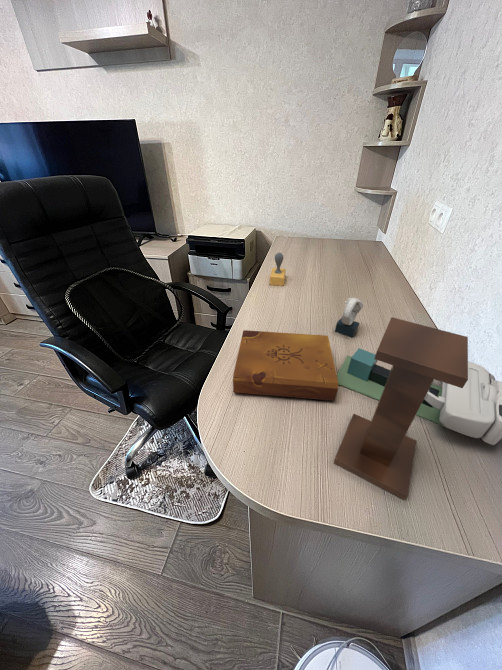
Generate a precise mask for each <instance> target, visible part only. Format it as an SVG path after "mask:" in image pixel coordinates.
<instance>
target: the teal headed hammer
mask: <svg viewBox="0 0 502 670" xmlns="http://www.w3.org/2000/svg"><path fill="white" fill-rule="evenodd" d="M375 355H376V353H374V352H370V351H367V350H365V349H363V348H360V347H359V348H357V349H356V351H355V352H354V353H353V355H352V356H351V360H350V364H349V368H348V371H347V373H348V374H351V375H353V376H355V377H357V378H360V379H362V380H364V381H366V382H367V380H371V381H373V382H375V383H377V384H380V385H382V386H384V387H385V384H386V381H387V379H388V376H389V374H390V371H391V369H389V370H388V368H386V367H383V366H381V365H379V364H377V363H378V360H375V359H374V358H375ZM429 392H430V393H432V394H433V395H435V396H436V397H437V396H438V394H439V390H437V389H435V388H432V387H430V388H429ZM422 404H424V405H427V406H429V407H431V408H432V405H431V404H429V403H428V402H427V401H426V400H423V402H422Z"/></svg>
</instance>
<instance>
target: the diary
mask: <svg viewBox="0 0 502 670" xmlns="http://www.w3.org/2000/svg"><path fill="white" fill-rule="evenodd" d="M334 361H335V360H334V357H333V351H332V347H331V342H330V337H329V335H326V334H325V335H324V334H309V333H308V334H307V333H295V332H294V333H292V332H279V331H278V332H277V331H263V330H247V329H243V330H242V334H241V339H240V344H239V347H238V352H237V357H236V360H235V366H234V370H233V375H232V376H233V377H232V392H233V393H237V394H250V395H262V396H274V397H275V396H276V397H284V398H285V397H287V398H297V399H298V398H299V399H310V400H311V399H312V400H321V401H332V402H333V401H336V399H337V395H338V391H339V385H338V379H337V374H338V373H337V370H336V366H335V362H334Z"/></svg>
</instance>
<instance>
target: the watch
mask: <svg viewBox="0 0 502 670" xmlns="http://www.w3.org/2000/svg"><path fill="white" fill-rule="evenodd" d="M344 303H345V306H344V309H343V312H342V315H341V318H340V319H339V320H338V321H337V322H336V324H335V329H334V332H335V333H337V334H340V335H344V336H346V337H349V338H351V339H353V338H354V336H355V335H356V334H357V332H358V330H359V327H360V322H358V321H355V320H356V318H357V315H358V314H359V313H360V312H361V310H363V308H364V302H363V301H362V300H360V299H359V298H357V297H349V298H347V299H346V300H345V301H344Z"/></svg>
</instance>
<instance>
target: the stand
mask: <svg viewBox="0 0 502 670" xmlns="http://www.w3.org/2000/svg"><path fill="white" fill-rule="evenodd" d="M375 354H376V355H375V358H374V359H375V360H377V362H378V361H379V362H382V363H384V364H388V365H391V369H390V370H391V371H390V374H389V376H388V379H387V381H386V384H385V387H384V389H383V392H382V394H381V397H380V400H379V401H378V403H377V405H376V408H375V410H374V413H373V415H372V418H371V420H370V419H367V418H365V417H362V416H360V415H358V414H355V413H353V414H352V416H351V419H350V421H349V423H348V426H347V429H346V431H345V433H344V436H343V437H342V440H341V443H340V445H339V448H338V450H337V453H336V455H335V457H334V460H333V464H335V465H337V466H338V467H340V468H342V469H343V470H346V471H348V472H350V473H352V474H353V475H355V476H358V477H359V478H361V479H363V480H365V481H367V482H368V483H371V484H372V485H375V486H377V487H378V488H380V489H382V490H384V491H386V492H387V493H389V494H392V495H394V496H395V497H398V498H399V499H401V500H403V501H405V500H406V499H407V497H408V495H409V489H410V484H411V479H412V471H413V464H414V459H415V453H416V447H417V442H418V441H417V440H416V439H414V438H412V437H410V436H408V435H406V434H407V432H408V430H409V429H410V427H411V425H412V423H413V420H415V418H416V413H417V411H418V410H419V408H420V406H421V404H422V402H423V400H424V398H425V396H426V394H427V392H428V390H429V388H430V386H431V384H433V383H434V380H436V381H438V382H442V383H443V382H445V383H448V384H451V385H454V386H457V387H460V388H463V387H464V385H465V384H466V382H467V380H468V361H469V337H468V336H465V335H461V334H458V333H454V332H450V331H446V330H443V329H439V328H435V327H432V326H427V325H424V324H419V323H416V322H411V321H408V320H405V319H400V318H397V317H393V316H391V317H390V319H389V322H388V324H387V327H386V329H385V331H384V332H383V336H382V338H381V340H380V343H379V345H378V347H377V349H376V352H375Z"/></svg>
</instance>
